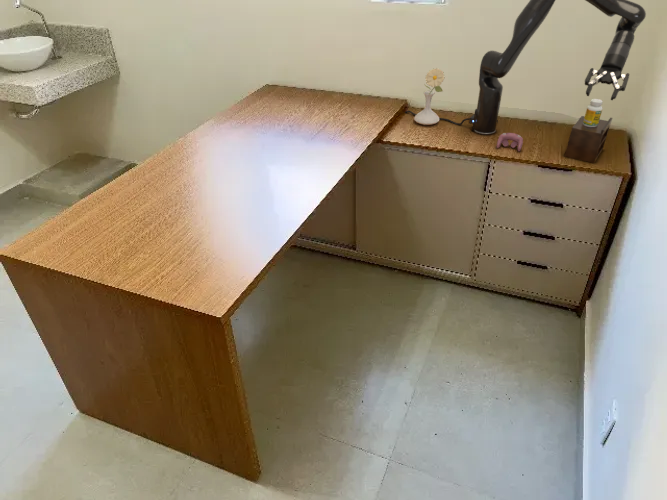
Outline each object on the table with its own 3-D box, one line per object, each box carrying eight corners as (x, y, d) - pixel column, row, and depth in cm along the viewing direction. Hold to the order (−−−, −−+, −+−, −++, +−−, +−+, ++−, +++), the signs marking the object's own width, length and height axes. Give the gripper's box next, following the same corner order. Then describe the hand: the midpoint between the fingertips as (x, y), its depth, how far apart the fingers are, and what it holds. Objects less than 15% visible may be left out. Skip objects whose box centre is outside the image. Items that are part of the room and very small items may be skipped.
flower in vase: (408, 122, 232) (412, 66, 217) (424, 115, 238) (429, 61, 223) (431, 130, 224) (436, 73, 209) (447, 123, 230) (453, 67, 215)
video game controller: (520, 152, 207) (525, 135, 206) (520, 151, 203) (524, 134, 202) (496, 148, 211) (500, 131, 209) (495, 147, 207) (499, 130, 205)
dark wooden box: (564, 156, 200) (573, 123, 192) (574, 143, 209) (582, 112, 201) (593, 163, 195) (603, 130, 187) (602, 149, 204) (612, 117, 196)
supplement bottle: (588, 121, 198) (595, 97, 192) (600, 125, 194) (608, 101, 188) (579, 124, 195) (586, 100, 190) (592, 128, 192) (599, 104, 186)
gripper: (635, 66, 191) (619, 105, 191) (595, 61, 198) (579, 98, 198) (637, 55, 185) (620, 95, 184) (595, 50, 192) (579, 88, 191)
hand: (599, 97), depth 191 cm, fingers open, 8 cm apart
